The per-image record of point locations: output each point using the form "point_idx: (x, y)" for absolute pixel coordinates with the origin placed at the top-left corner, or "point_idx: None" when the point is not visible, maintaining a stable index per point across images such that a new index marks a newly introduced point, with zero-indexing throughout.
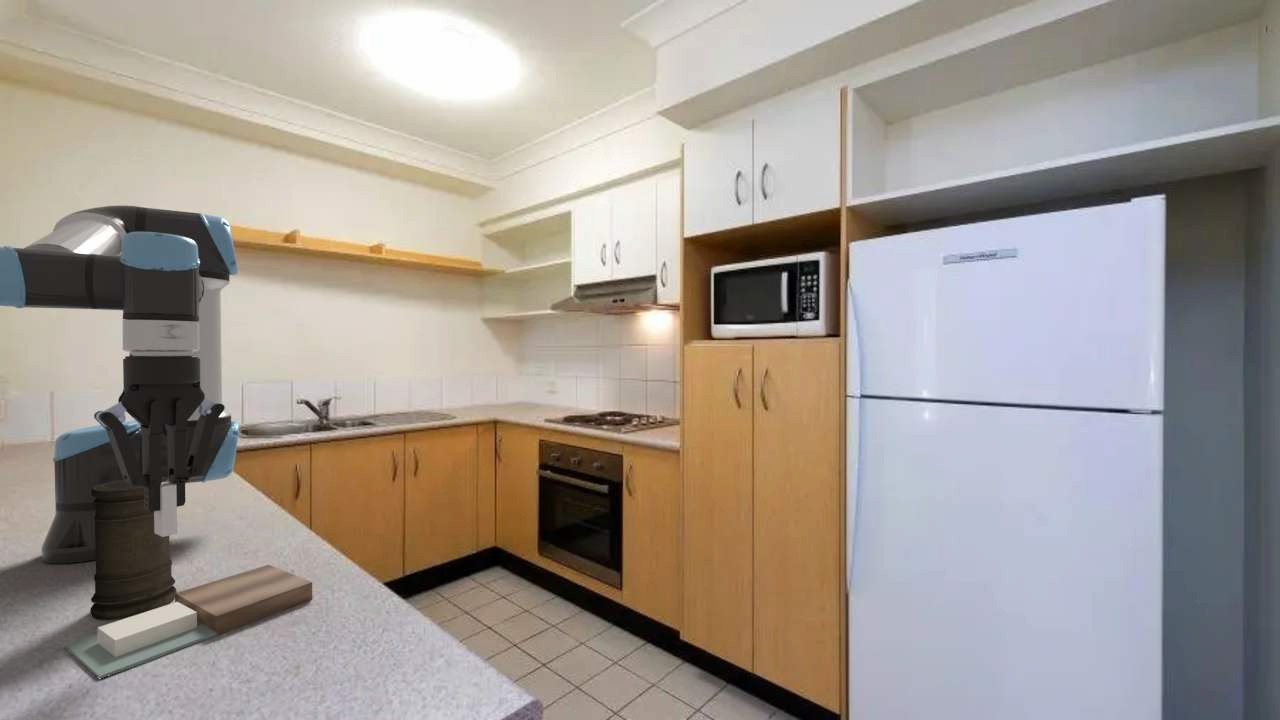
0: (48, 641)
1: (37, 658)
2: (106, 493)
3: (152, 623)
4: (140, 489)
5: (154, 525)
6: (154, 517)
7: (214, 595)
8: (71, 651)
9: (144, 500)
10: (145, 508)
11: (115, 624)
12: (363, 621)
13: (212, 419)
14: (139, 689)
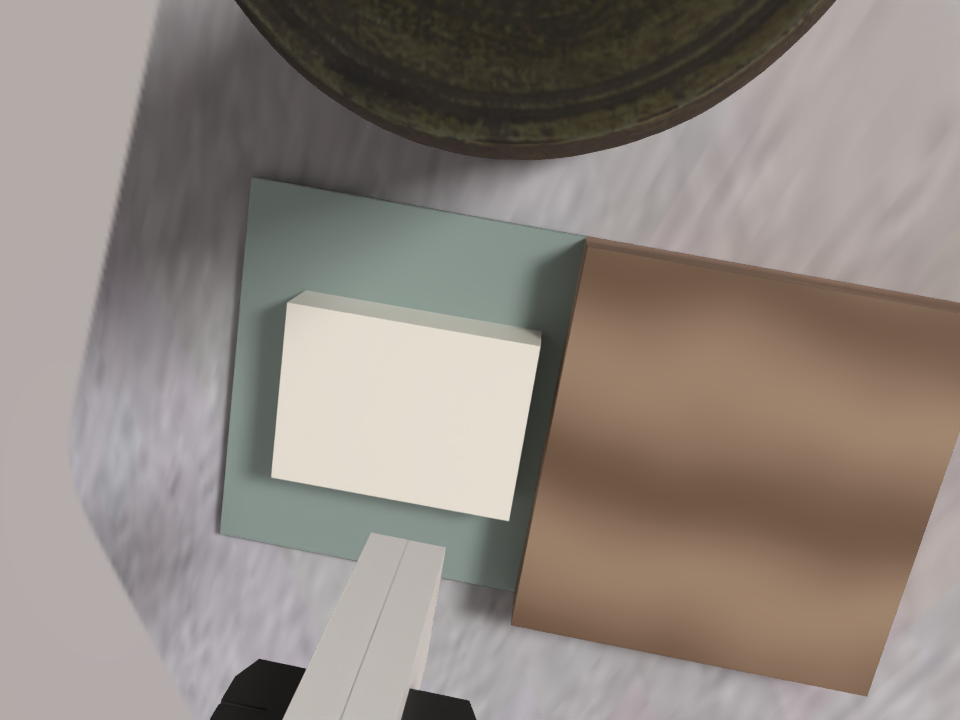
0: (248, 52)
1: (184, 182)
2: None
3: (389, 463)
4: (443, 140)
5: (357, 561)
6: (344, 592)
7: (631, 441)
8: (245, 262)
9: (213, 714)
10: (246, 669)
11: (328, 339)
12: None
13: None
14: None
